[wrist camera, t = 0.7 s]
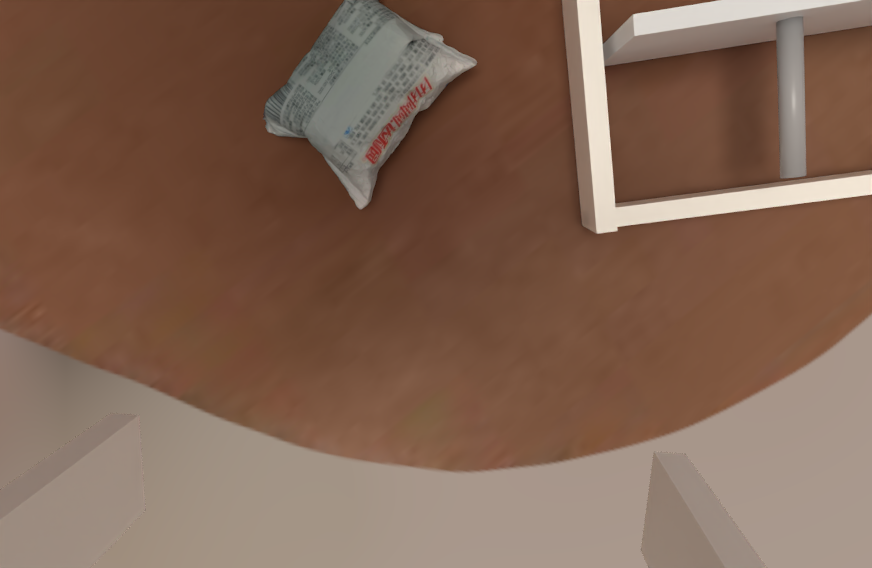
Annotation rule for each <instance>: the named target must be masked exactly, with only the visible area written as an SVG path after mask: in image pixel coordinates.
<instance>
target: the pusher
mask: <svg viewBox="0 0 872 568" xmlns="http://www.w3.org/2000/svg"><path fill="white" fill-rule="evenodd" d="M865 26H872V0H720V1H713V2H707V3H701V4H695V5H688V6H682V7H676V8H670V9H663V10H657V11H651V12H645V13H639V14H633V15H632V16H631V17H630V18H629V19H628V20H627V21H626V22H625V23H624V24H623V25H622V26H621V27H620V28H619V29H618V30H617V31H616V32H615V33H614V34H613V35H612V36H611V37H610V38H609V39H608V40H607V41H606V42H605V43H604V44H603V56H604V66H610V65H617V64H623V63H630V62H636V61H643V60H650V59H656V58H663V57H669V56H676V55H682V54H689V53H695V52H702V51H708V50H715V49H722V48H728V47H735V46H741V45H748V44H754V43H761V42H767V41H774V40H776V41H777V78H778V115H779V152H780V178H794V177H802V176H806V133H805V80H804V36H807V35H813V34H820V33H826V32H833V31H839V30H846V29H852V28H859V27H865Z"/></svg>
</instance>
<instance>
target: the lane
mask: <svg viewBox="0 0 872 568" xmlns="http://www.w3.org/2000/svg"><path fill="white" fill-rule="evenodd" d="M562 9H563V20H564V32H565V43H566V54H567V65H568V76H569V87H570V98H571V109H572V120H573V131H574V142H575V153H576V164H577V175H578V186H579V198H580V209H581V220H582V226H584V227H585V228H587V229H589V230H591V231H593V232H595V233H597V234H598V233H606V232H614V231H617V227H619V226H627V225H635V224H643V223H651V222H659V221H667V220H675V219H682V218H690V217H698V216H706V215H714V214H722V213H730V212H737V211H745V210H753V209H761V208H769V207H777V206H785V205H793V204H800V203H808V202H816V201H824V200H832V199H840V198H848V197H856V196H863V195H871V194H872V170H867V171H860V172H852V173H844V174H837V175H829V176H821V177H814V178H806V179H798V180H791V181H783V182H775V183H768V184H760V185H753V186H745V187H737V188H730V189H722V190H714V191H707V192H699V193H691V194H684V195H676V196H668V197H661V198H653V199H646V200H638V201H630V202H623V203H615V195H614V182H613V170H612V157H611V144H610V132H609V119H608V107H607V94H606V81H605V69H604V56H603V44H602V31H601V18H600V6H599V0H562Z"/></svg>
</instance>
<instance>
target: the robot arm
mask: <svg viewBox="0 0 872 568" xmlns="http://www.w3.org/2000/svg"><path fill="white" fill-rule="evenodd" d="M145 510H146V508H145V493H144V478H143V463H142V449H141V435H140V420H139V415H131V414H118V413H110V414H109V415H107V416H106V417H104V418H103V419H101V420H100V421H98V422H97V423H95V424H94V425H93V426H91V427H90V428H88V429H87V430H85V431H84V432H82V433H81V434H79V435H78V436H77V437H75V438H74V439H72V440H71V441H69V442H68V443H66V444H65V445H64V446H62V447H61V448H59V449H58V450H56V451H55V452H53V453H52V454H50V455H49V456H48V457H46V458H45V459H43V460H42V461H40V462H39V463H37V464H36V465H35V466H33V467H32V468H30V469H29V470H27V471H26V472H24V473H23V474H21V475H20V476H19V477H17V478H16V479H14V480H13V481H11V482H10V483H9V484H7V485H5V486H4V487H3V488H1V489H0V568H91V567H92V566H93V565H94V564H95V563H96V562H97V561H98V560H99V559H100V558H101V557H102V556H103V555H104V554H105V553H106V551H107V550H108V549H109V548H110V547H111V546H112V545H113V544H114V543H115V542H116V541H117V540H118V539H119V538H120V537H121V536H122V535H123V534H124V532H125V531H126V530H127V529H128V528H129V527H130V526H131V525H132V524H133V523H134V522H135V521H136V520H137V519H138V518H139V517H140V516H141V515H142V513H143V512H144V511H145ZM641 551H642V554H643V556H644V559H645V561H646V563H647V565H648V568H767V567H766V565H765V564H764V562H763V561H762V560H761V558H760V557H759V555H758V554H757V553H756V551H755V550H754V549H753V547H752V546H751V544H750V543H749V542H748V540H747V539H746V537H745V536H744V535H743V533H742V532H741V530H740V529H739V528H738V526H737V525H736V523H735V522H734V521H733V519H732V518H731V516H729V514H728V512H727V511H726V509H725V508H724V507H723V505H722V504H721V502H720V501H719V500H718V498H717V497H716V496H715V494H714V493H713V491H712V490H711V489H710V487H709V486H708V484H707V483H706V482H705V480H704V479H703V477H702V476H701V475H700V473H699V472H698V470H697V469H696V468H695V466H694V465H693V463H692V462H691V461H690V459H689V458H688V456H687V455H686V454H681V453H666V452H654V455H653V463H652V470H651V477H650V485H649V493H648V500H647V508H646V515H645V524H644V531H643V538H642V546H641Z"/></svg>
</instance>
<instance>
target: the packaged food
mask: <svg viewBox="0 0 872 568" xmlns="http://www.w3.org/2000/svg"><path fill="white" fill-rule="evenodd" d="M378 1H379V0H344V2H343V3H342V4H341V5H340V7H339V8H338V10H337V11H336V13H335V14H334V15H333V17H332V18H331V20H330V21H329V23H328V24H327V26H326V27H325V29H324V30H323V32H322V33H321V34H320V36H319V37H318V39H317V40H316V42H315V43H314V45H313V46H312V48H311V50H310V52H309V53H307V54H306V55H305V56H304V57H303V59H302V60H301V61H300V63H299V64H298V66H297V67H296V69H295V70H294V72H293V74H292V76H291V77H290V78H289V80H288V82H287V84H286V85H284V86H283V87H282V88H280V89H279V90H278V91H277V92H276V93H275V94H274V95H272V96H271V97H270V98H269V99H268V100H267V102H266V105H265V109H264V114H263V115H264V117H263V120H264V119H265V121H266V123H267V124H266V126H265V127H266V129H267V131H268V132H270V133H273V134H276V135H277V136H289V137H300V138H308V140H309V141H310V143H311V144H312V146H314V147H315V148H316V149H317V150H318V151H319V152H320V153H322V154H323V156H324V158H325V160H326V161H327V163H328V164H329V166H330V167H331V168H332V170H333V171H334V173H335V174H336V175H337V176H338V178H339V179H340V181H341V183H342V184H343V185H344V187H345V188H346V190H347V191H348V193H349V195H350V196H351V198H352V199H353V200H354V202H355V204H356V206H357V207H358V208H359V209H363V208H364V207H366V206H367V205H368V204H369V202H370V201H371V198H372V193H373V189H374V186H375V182H376V180H377V173H378V171H379V169H380V168H381V166H382V165H383V164H384V163H385V161H386V160H387V159H388V158H389V156H390V155H391V154H392V152H393V151H394V150H395V149H396V147H397V146H398V145H399V144H400V142H401V140H402V139H403V138H404V137H405V135H406V134H407V132H408V130H409V128H410V126H411V124H412V121H413V119H414V117H415V115H417V113H418V112H419V111H423V110H425V109H427V108H428V107H429V106H430V105H431V104H432V103H433V102H434V100H435V99H436V98H437V97H438V95H439V94H440V93H441V92H442V91H443V89H444V88H445V87H446V86H447V85H448V83H449V82H452V81H453V79H455V78H456V77H457V76H459V75H460V74H461V73H463V72H465V71H467V70H469V69H470V68H472V67H474V66H475V65H476V64H477V61H476V60H475V59H474V58H472V57H470V56H467V55H465V54H462V53H460V52H458V51H457V50H455V49H454V48H452V47H449V46H447V45H445V44H444V43H443V42H442V41H443V37H442V36H441V35H440V34H436V33H431V32H427V31H425V30H423V29H421V28H419V27H417V26H415V25H413V24H411V23H410V22H408V21H406V20H405V19H403V18H402V17H400V16H399V15H397V14H396V13H394V12H392V11H391V10H390V9H388V8H387V7H385V6H384V5H382V4H381V3H379V2H378ZM437 40H438V41H437Z"/></svg>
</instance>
